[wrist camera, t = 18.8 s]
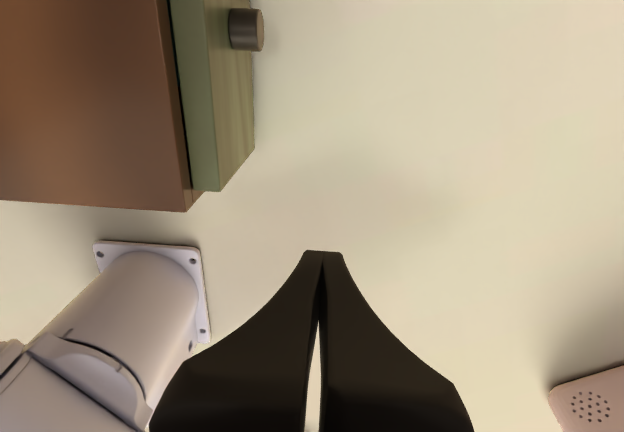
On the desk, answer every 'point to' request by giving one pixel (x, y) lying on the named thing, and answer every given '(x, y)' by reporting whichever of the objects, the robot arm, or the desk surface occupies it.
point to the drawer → (216, 84)
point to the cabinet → (91, 106)
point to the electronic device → (590, 403)
